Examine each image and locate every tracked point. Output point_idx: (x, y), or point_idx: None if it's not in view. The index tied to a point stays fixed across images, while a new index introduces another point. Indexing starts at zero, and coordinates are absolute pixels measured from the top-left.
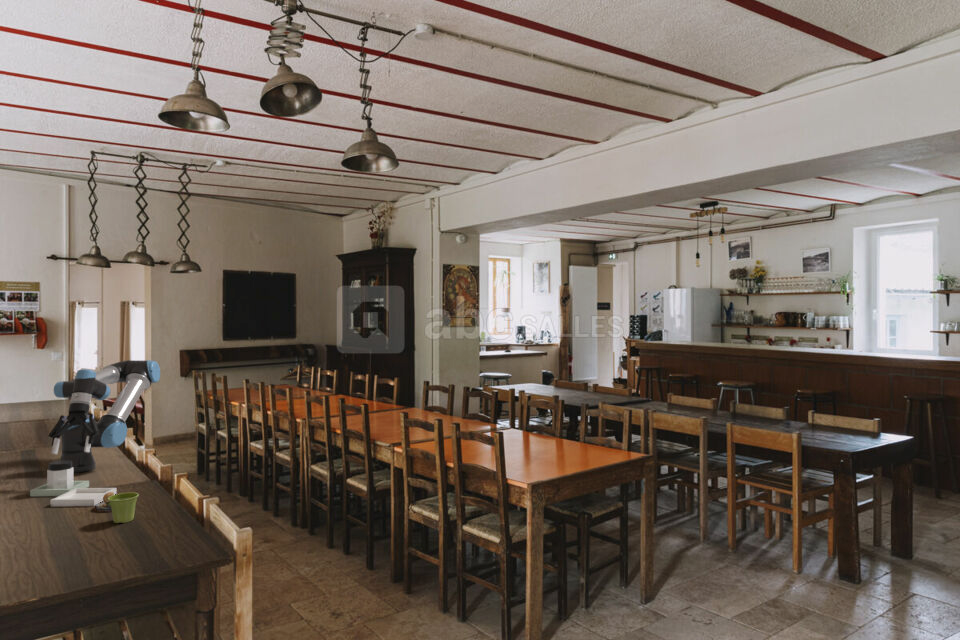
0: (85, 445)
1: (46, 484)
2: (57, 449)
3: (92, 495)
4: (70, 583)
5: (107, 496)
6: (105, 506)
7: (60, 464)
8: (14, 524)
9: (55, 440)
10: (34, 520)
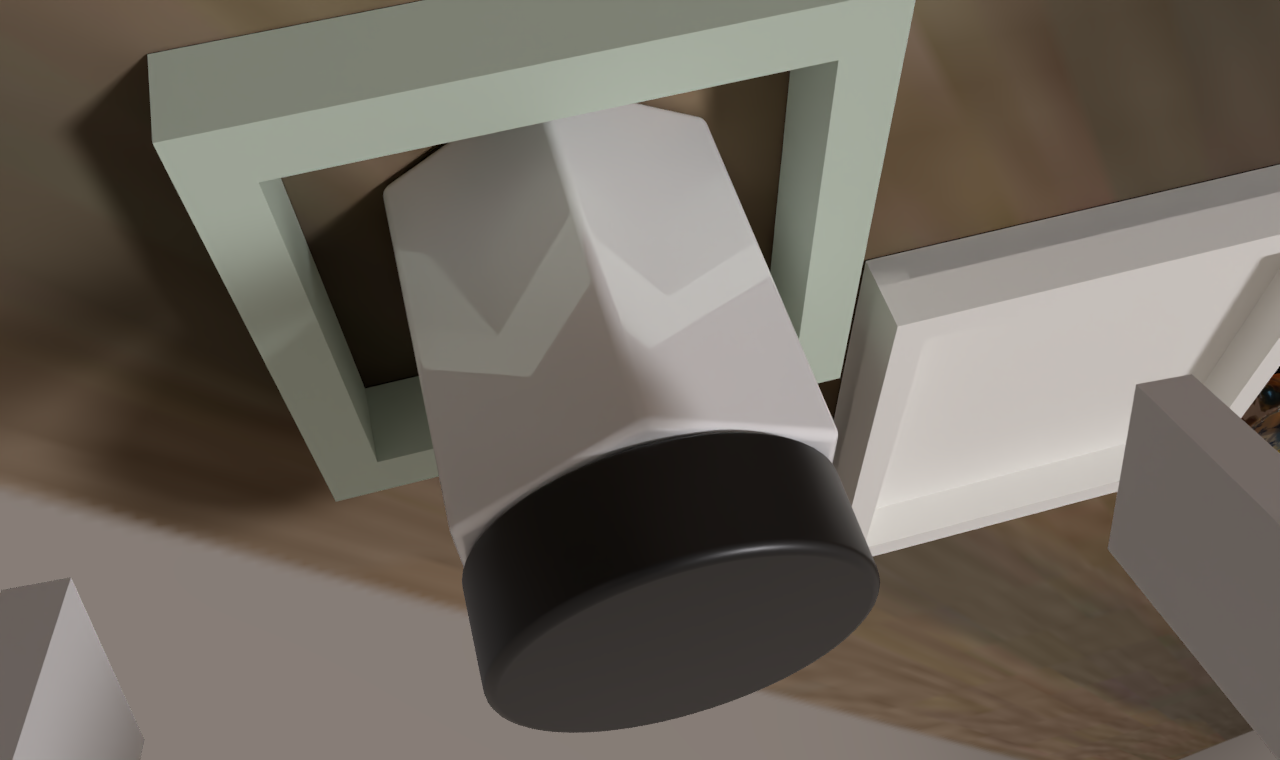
0: (1225, 673)
1: (292, 314)
2: (41, 739)
3: (1120, 321)
4: (1232, 728)
5: None
6: (1272, 426)
7: (773, 677)
8: (788, 679)
9: None
10: (867, 632)
